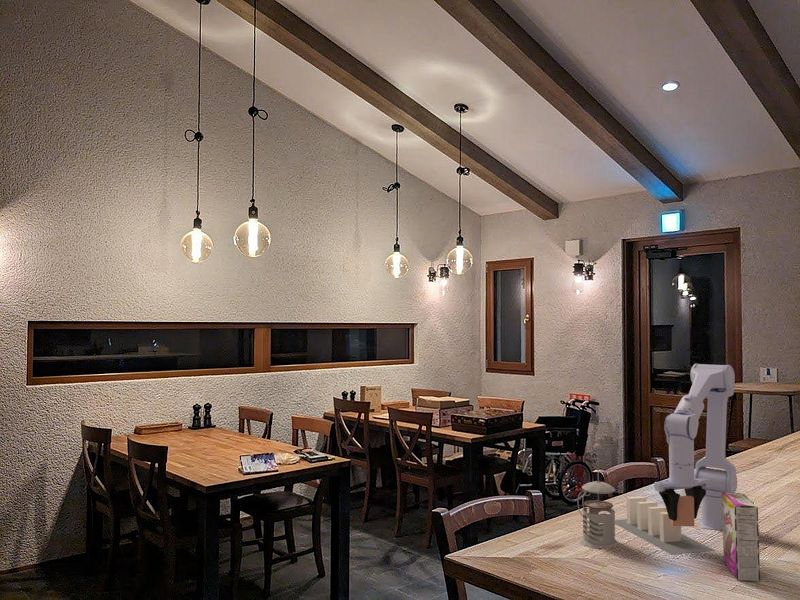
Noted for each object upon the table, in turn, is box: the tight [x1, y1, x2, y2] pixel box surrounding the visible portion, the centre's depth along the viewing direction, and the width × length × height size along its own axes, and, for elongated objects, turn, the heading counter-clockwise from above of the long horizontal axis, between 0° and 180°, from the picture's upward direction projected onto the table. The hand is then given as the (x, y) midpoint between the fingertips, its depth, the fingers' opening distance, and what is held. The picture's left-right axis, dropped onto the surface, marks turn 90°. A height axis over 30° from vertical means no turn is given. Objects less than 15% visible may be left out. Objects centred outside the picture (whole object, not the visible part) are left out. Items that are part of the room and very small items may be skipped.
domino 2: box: [637, 500, 658, 530], centre depth 180 cm, size 2×5×7 cm, turn 103°
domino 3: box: [648, 505, 667, 536], centre depth 175 cm, size 2×5×7 cm, turn 103°
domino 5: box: [671, 495, 695, 528], centre depth 165 cm, size 2×5×7 cm, turn 83°
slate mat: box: [614, 518, 716, 556], centre depth 175 cm, size 28×12×1 cm, turn 13°
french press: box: [577, 443, 619, 550], centre depth 171 cm, size 10×12×25 cm
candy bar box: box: [722, 492, 761, 583], centre depth 150 cm, size 11×5×16 cm, turn 168°
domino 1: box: [626, 495, 647, 525], centre depth 185 cm, size 2×5×7 cm, turn 103°
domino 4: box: [660, 512, 682, 542], centre depth 170 cm, size 2×5×7 cm, turn 103°
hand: (682, 518), depth 165 cm, fingers closed on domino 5, 5 cm apart
